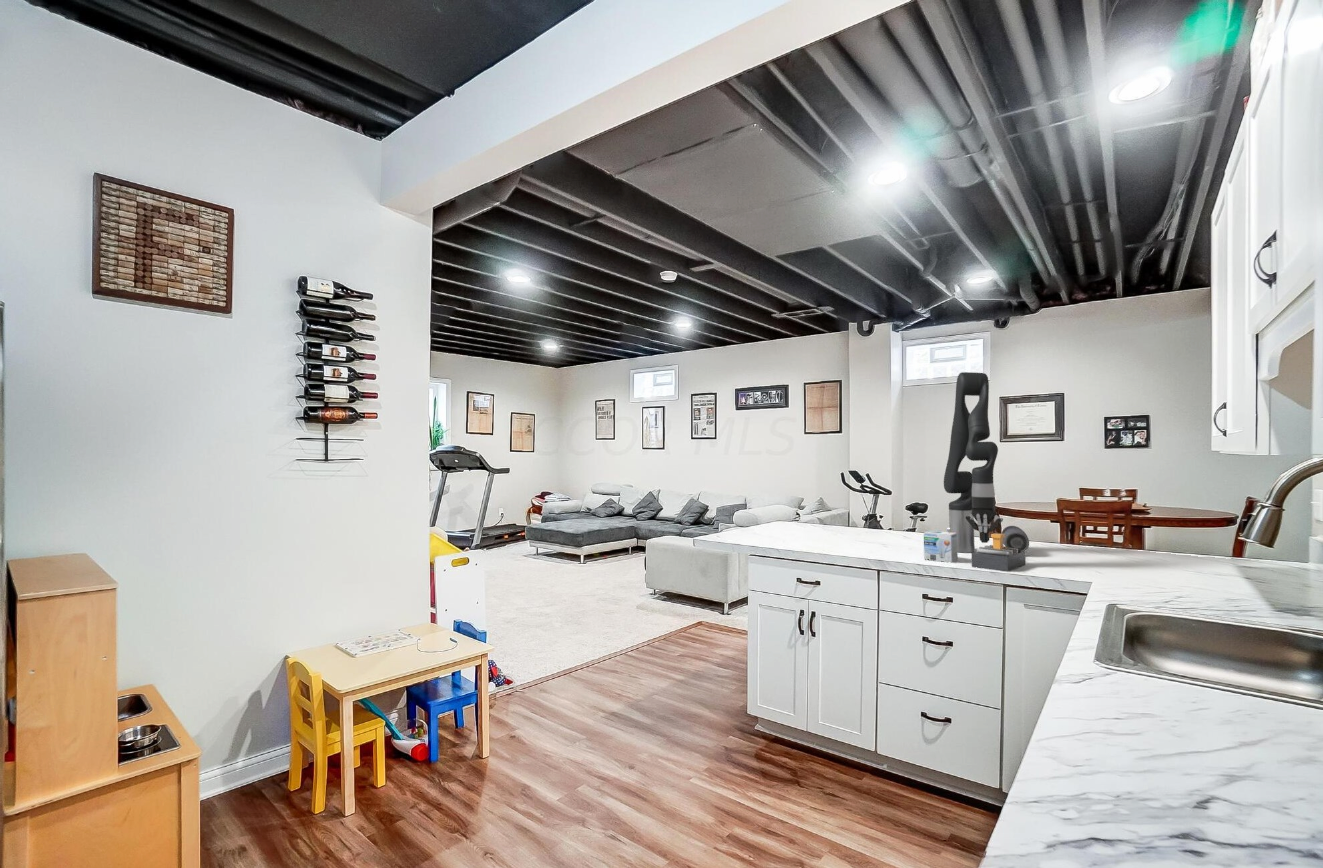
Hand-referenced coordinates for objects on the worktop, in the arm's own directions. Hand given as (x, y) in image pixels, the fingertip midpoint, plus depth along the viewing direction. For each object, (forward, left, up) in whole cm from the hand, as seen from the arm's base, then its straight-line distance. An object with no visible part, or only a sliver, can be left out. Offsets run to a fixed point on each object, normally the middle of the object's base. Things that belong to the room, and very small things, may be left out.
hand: (984, 542), depth 225 cm
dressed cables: (+5, 0, -3) cm, 6 cm away
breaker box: (+5, 0, -8) cm, 9 cm away
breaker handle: (+5, 0, -3) cm, 5 cm away
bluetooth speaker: (-2, +36, -8) cm, 37 cm away
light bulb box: (-15, -2, -8) cm, 18 cm away
